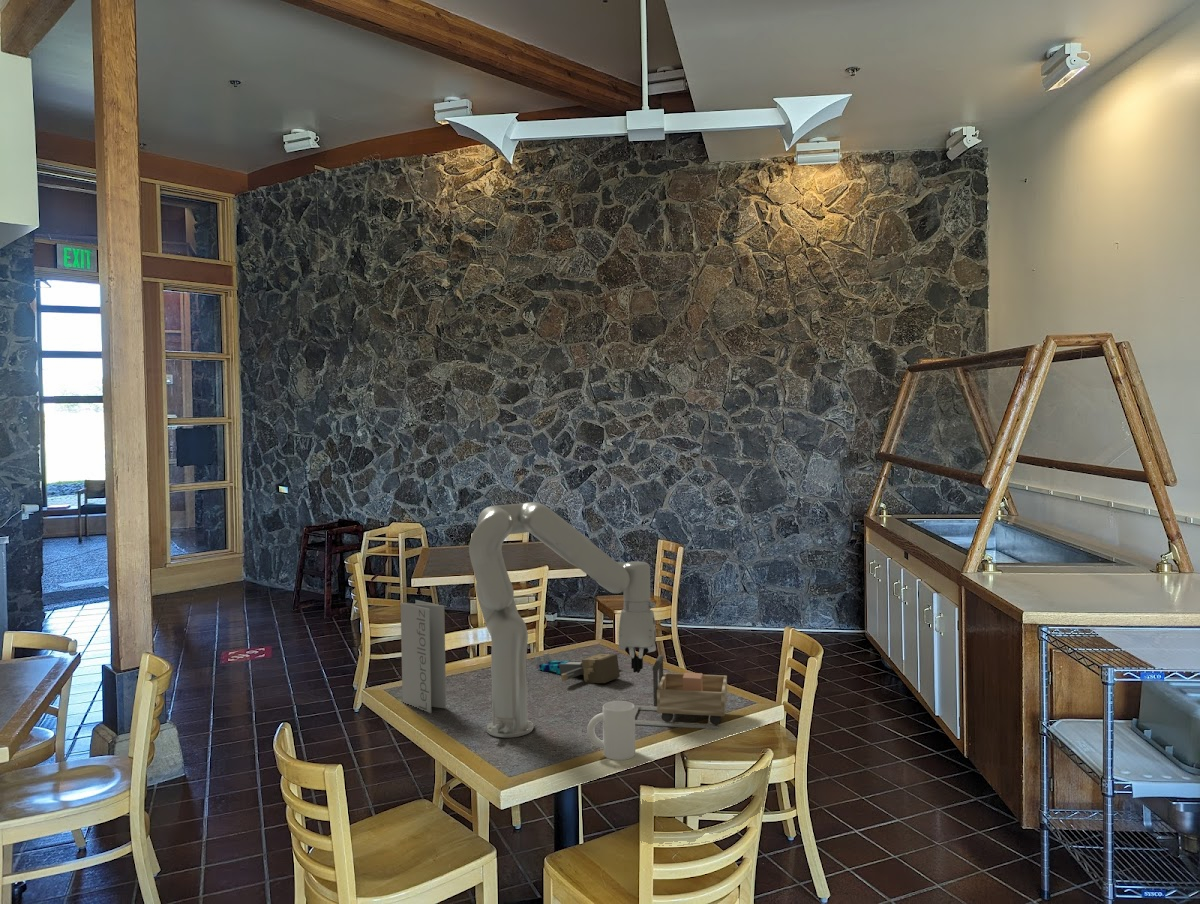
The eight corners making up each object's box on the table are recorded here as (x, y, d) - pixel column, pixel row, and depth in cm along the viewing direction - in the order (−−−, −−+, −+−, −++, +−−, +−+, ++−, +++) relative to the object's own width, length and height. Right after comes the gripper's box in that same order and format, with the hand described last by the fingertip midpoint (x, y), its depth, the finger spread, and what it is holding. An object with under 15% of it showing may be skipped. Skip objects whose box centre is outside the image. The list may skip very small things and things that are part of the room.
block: (682, 702, 224) (682, 677, 224) (685, 697, 229) (684, 672, 229) (701, 704, 223) (700, 678, 223) (702, 698, 228) (702, 673, 228)
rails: (717, 729, 218) (717, 726, 218) (622, 723, 224) (622, 720, 223) (720, 712, 231) (720, 709, 231) (629, 707, 237) (629, 704, 237)
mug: (586, 748, 206) (586, 701, 206) (633, 746, 207) (633, 699, 207) (587, 761, 198) (587, 712, 198) (636, 759, 199) (636, 710, 198)
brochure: (402, 702, 244) (400, 602, 244) (418, 698, 248) (416, 599, 248) (430, 713, 235) (428, 609, 234) (446, 708, 239) (444, 606, 238)
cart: (724, 727, 217) (723, 671, 216) (652, 723, 221) (651, 668, 220) (727, 707, 232) (726, 655, 232) (659, 703, 236) (658, 652, 236)
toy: (565, 646, 290) (633, 646, 272) (568, 668, 290) (636, 670, 271) (513, 663, 269) (583, 665, 251) (516, 687, 269) (586, 690, 250)
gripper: (665, 604, 231) (665, 669, 231) (613, 602, 234) (613, 666, 234) (661, 609, 224) (661, 676, 224) (608, 607, 227) (608, 673, 227)
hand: (637, 671), depth 229 cm, fingers closed
